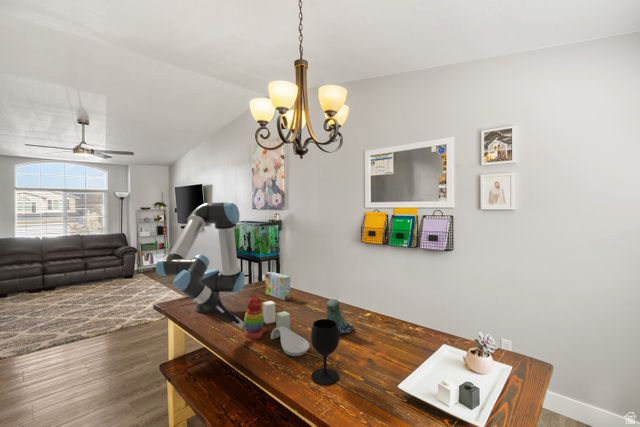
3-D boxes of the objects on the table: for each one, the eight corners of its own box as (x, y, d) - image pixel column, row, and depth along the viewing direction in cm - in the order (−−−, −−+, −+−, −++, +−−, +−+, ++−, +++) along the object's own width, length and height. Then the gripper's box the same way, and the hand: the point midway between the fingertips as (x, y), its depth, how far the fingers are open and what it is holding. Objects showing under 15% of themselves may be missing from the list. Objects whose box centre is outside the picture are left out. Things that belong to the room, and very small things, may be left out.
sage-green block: (276, 333, 145) (275, 313, 144) (285, 330, 148) (284, 311, 147) (281, 337, 141) (280, 316, 140) (290, 334, 144) (290, 314, 143)
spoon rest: (314, 354, 126) (314, 337, 126) (292, 363, 119) (292, 346, 118) (284, 334, 144) (284, 320, 144) (262, 342, 137) (262, 326, 136)
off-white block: (262, 320, 160) (262, 302, 160) (271, 318, 163) (271, 300, 163) (266, 323, 156) (266, 305, 156) (275, 321, 159) (275, 303, 158)
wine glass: (310, 369, 114) (310, 318, 113) (336, 368, 115) (337, 317, 114) (311, 386, 104) (311, 330, 103) (341, 384, 105) (341, 329, 104)
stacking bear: (260, 339, 138) (260, 302, 138) (240, 337, 140) (240, 300, 140) (268, 329, 149) (268, 294, 148) (249, 327, 151) (249, 293, 150)
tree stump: (360, 325, 155) (359, 295, 150) (344, 351, 139) (342, 318, 134) (329, 317, 164) (327, 288, 159) (311, 340, 147) (308, 309, 142)
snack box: (290, 298, 196) (290, 276, 195) (284, 301, 192) (284, 278, 191) (271, 292, 210) (271, 271, 210) (264, 293, 206) (264, 272, 205)
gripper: (196, 300, 135) (232, 327, 145) (202, 309, 124) (242, 337, 134) (208, 286, 138) (243, 314, 148) (215, 294, 127) (253, 323, 137)
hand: (242, 325), depth 141 cm, fingers closed
